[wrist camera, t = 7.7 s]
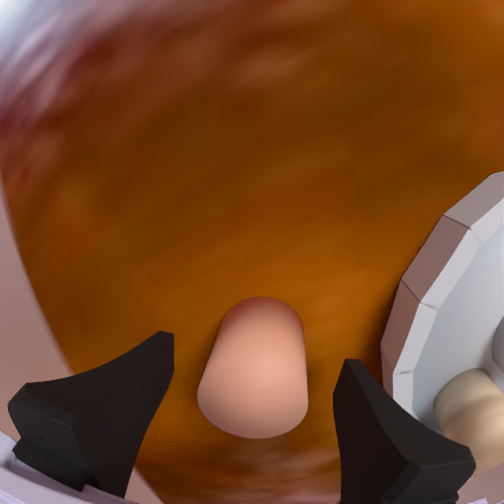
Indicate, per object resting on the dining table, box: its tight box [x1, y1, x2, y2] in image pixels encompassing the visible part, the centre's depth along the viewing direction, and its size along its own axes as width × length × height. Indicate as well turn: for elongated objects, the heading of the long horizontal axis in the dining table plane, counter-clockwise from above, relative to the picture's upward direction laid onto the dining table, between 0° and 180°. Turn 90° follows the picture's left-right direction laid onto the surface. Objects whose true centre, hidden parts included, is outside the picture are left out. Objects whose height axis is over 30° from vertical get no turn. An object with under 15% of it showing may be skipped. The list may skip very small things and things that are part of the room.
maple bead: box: [433, 368, 504, 478], centre depth 12 cm, size 4×4×5 cm
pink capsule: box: [197, 297, 308, 439], centre depth 13 cm, size 4×4×5 cm
